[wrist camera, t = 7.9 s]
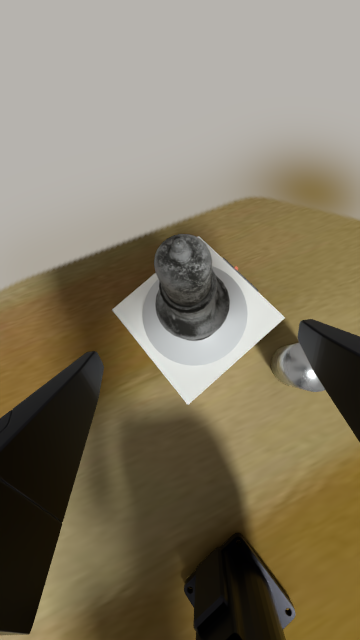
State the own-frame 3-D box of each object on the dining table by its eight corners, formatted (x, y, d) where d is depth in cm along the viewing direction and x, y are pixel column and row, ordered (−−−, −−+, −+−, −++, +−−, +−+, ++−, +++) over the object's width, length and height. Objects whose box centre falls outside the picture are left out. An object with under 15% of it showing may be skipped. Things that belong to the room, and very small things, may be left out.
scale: (280, 318, 22) (292, 311, 19) (189, 400, 21) (187, 406, 18) (203, 244, 24) (202, 228, 22) (121, 315, 24) (109, 308, 21)
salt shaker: (213, 276, 20) (224, 158, 9) (234, 333, 19) (281, 283, 7) (156, 295, 21) (93, 205, 9) (173, 352, 19) (124, 333, 8)
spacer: (322, 367, 20) (350, 368, 16) (292, 395, 20) (313, 402, 16) (291, 337, 21) (310, 331, 17) (262, 363, 21) (275, 363, 17)
